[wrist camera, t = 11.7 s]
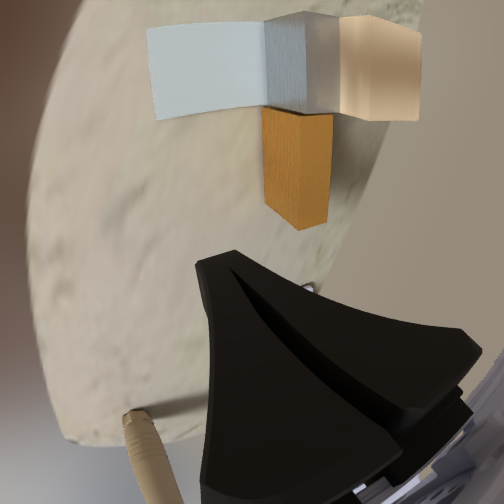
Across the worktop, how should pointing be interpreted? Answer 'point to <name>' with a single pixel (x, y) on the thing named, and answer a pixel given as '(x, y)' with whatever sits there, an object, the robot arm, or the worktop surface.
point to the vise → (206, 67)
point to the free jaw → (300, 114)
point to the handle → (149, 460)
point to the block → (379, 69)
